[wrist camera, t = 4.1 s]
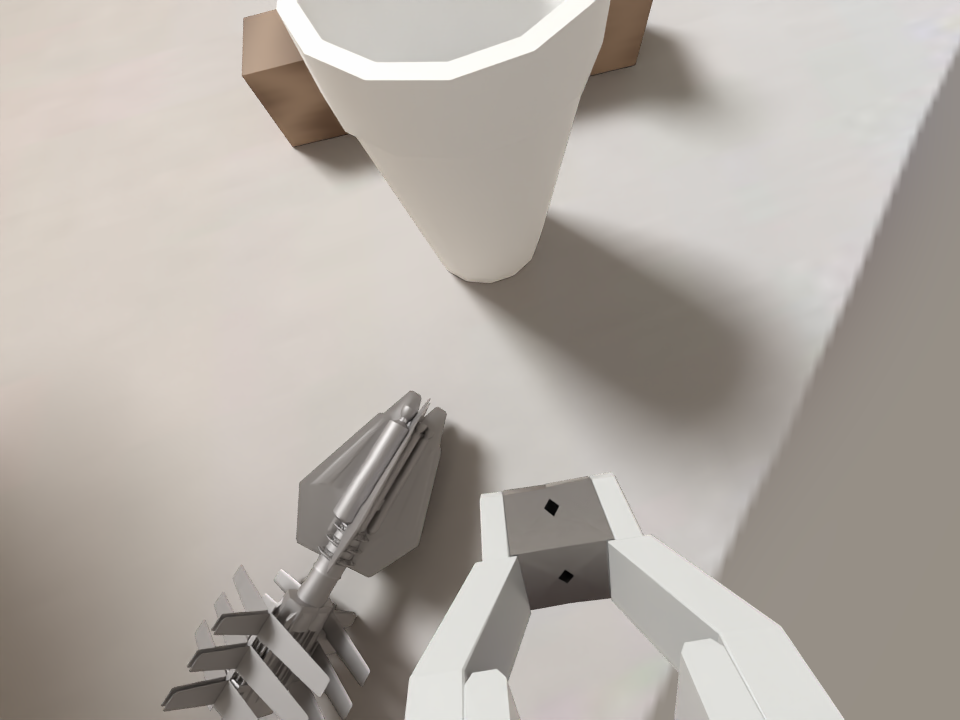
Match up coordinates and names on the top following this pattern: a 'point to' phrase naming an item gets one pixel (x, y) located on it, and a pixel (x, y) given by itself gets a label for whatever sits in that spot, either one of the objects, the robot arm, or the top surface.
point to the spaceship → (321, 575)
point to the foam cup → (457, 109)
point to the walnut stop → (308, 115)
